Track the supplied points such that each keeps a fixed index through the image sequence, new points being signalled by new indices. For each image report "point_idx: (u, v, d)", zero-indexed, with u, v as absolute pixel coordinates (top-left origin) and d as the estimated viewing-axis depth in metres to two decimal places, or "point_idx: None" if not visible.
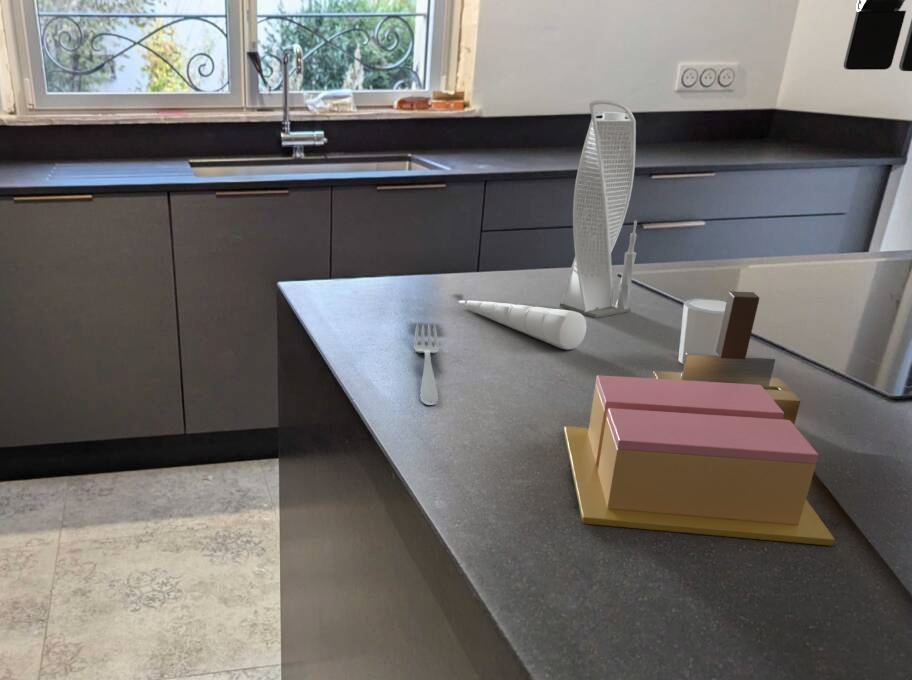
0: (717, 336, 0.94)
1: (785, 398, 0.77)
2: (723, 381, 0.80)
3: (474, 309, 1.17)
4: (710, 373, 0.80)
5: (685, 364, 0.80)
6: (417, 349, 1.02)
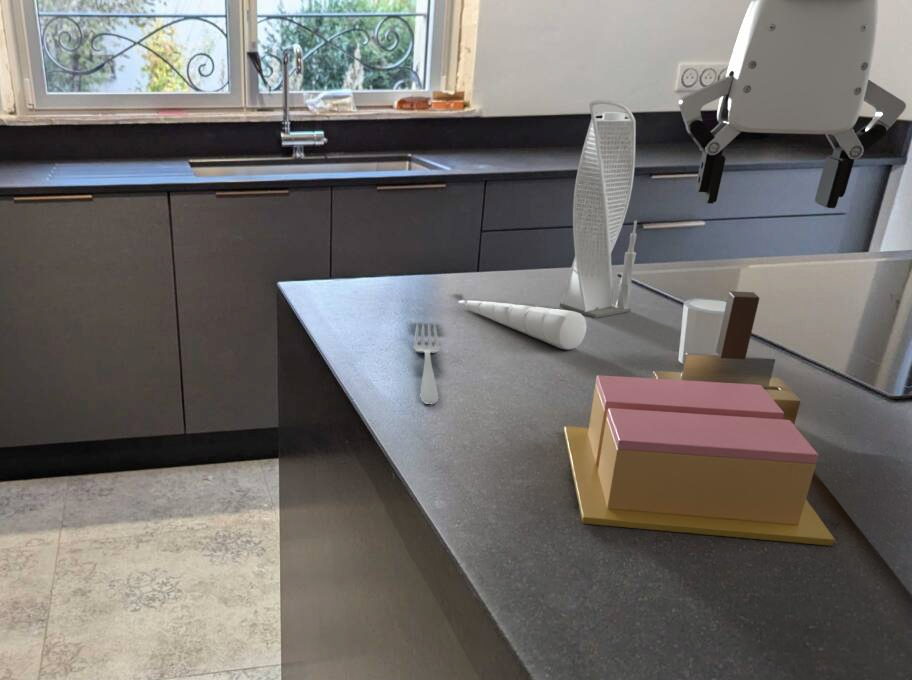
0: (717, 336, 0.94)
1: (785, 398, 0.77)
2: (723, 381, 0.80)
3: (474, 309, 1.17)
4: (710, 373, 0.80)
5: (685, 364, 0.80)
6: (417, 349, 1.02)
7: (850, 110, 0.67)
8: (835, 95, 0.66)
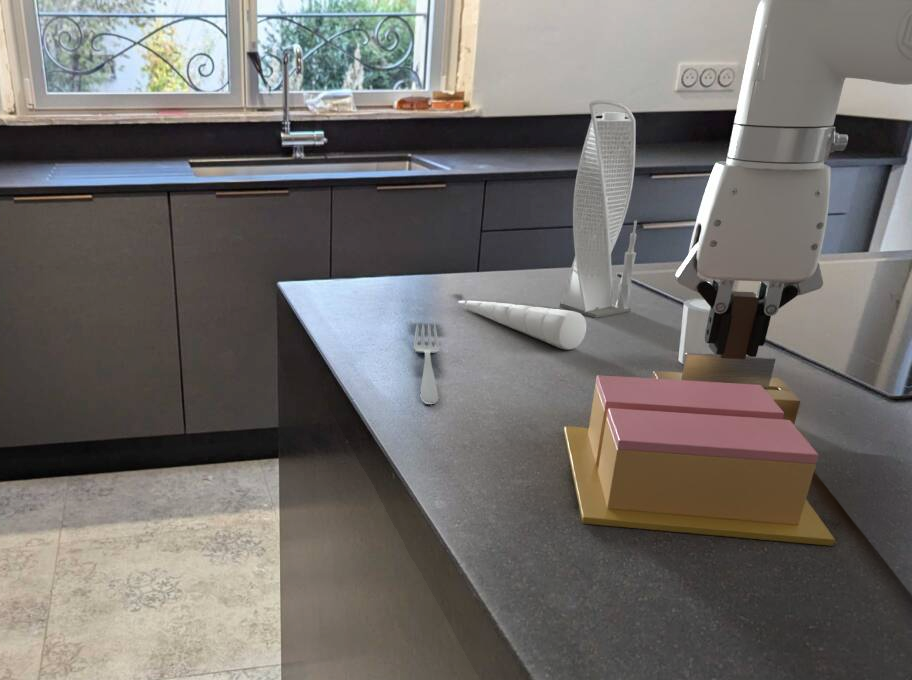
0: None
1: (785, 398, 0.77)
2: (723, 381, 0.80)
3: (474, 309, 1.17)
4: (710, 373, 0.80)
5: (685, 364, 0.80)
6: (417, 349, 1.02)
7: (808, 262, 0.72)
8: (794, 250, 0.72)
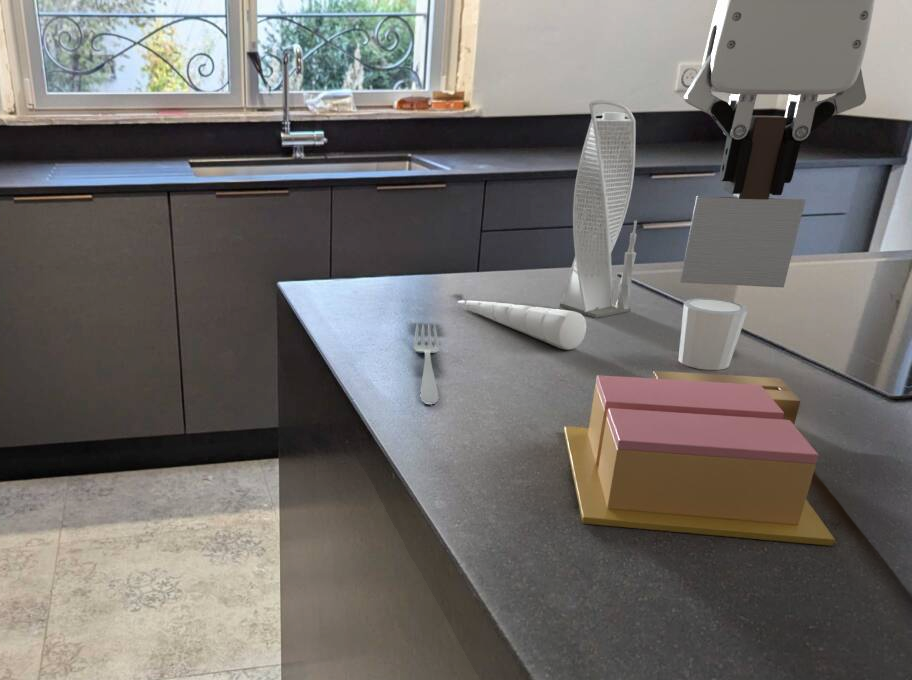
0: (717, 336, 0.94)
1: (785, 398, 0.77)
2: (741, 230, 0.67)
3: (474, 309, 1.17)
4: (726, 220, 0.66)
5: (695, 210, 0.67)
6: (417, 349, 1.02)
7: (849, 66, 0.59)
8: (831, 49, 0.58)
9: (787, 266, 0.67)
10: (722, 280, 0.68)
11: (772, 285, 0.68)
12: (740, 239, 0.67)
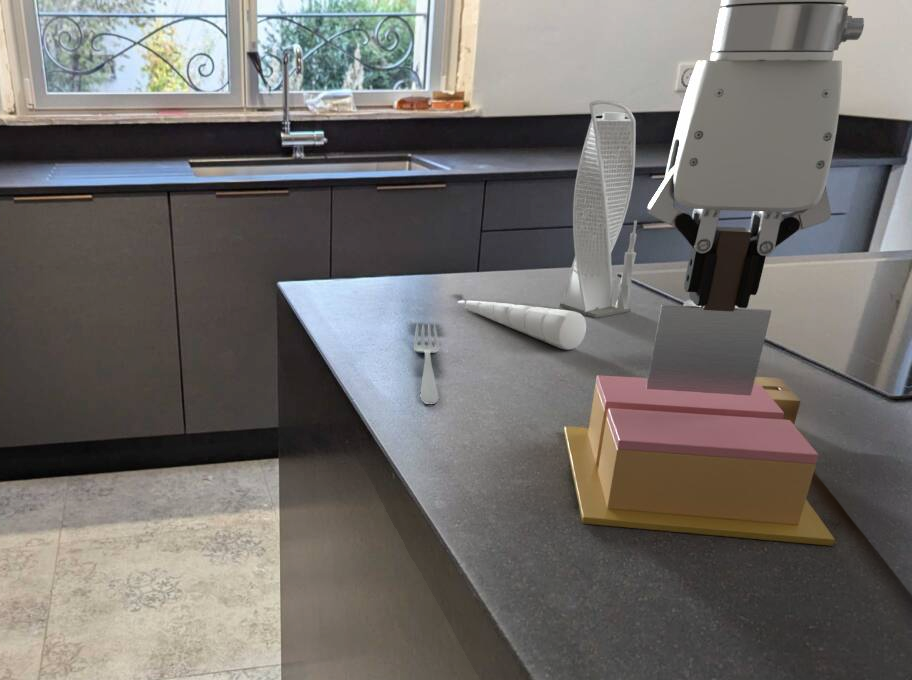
0: None
1: (785, 398, 0.77)
2: (707, 340, 0.65)
3: (474, 309, 1.17)
4: (691, 330, 0.65)
5: (660, 318, 0.65)
6: (417, 349, 1.02)
7: (813, 185, 0.58)
8: (795, 169, 0.57)
9: (754, 375, 0.66)
10: (689, 388, 0.67)
11: (739, 393, 0.66)
12: (706, 348, 0.65)
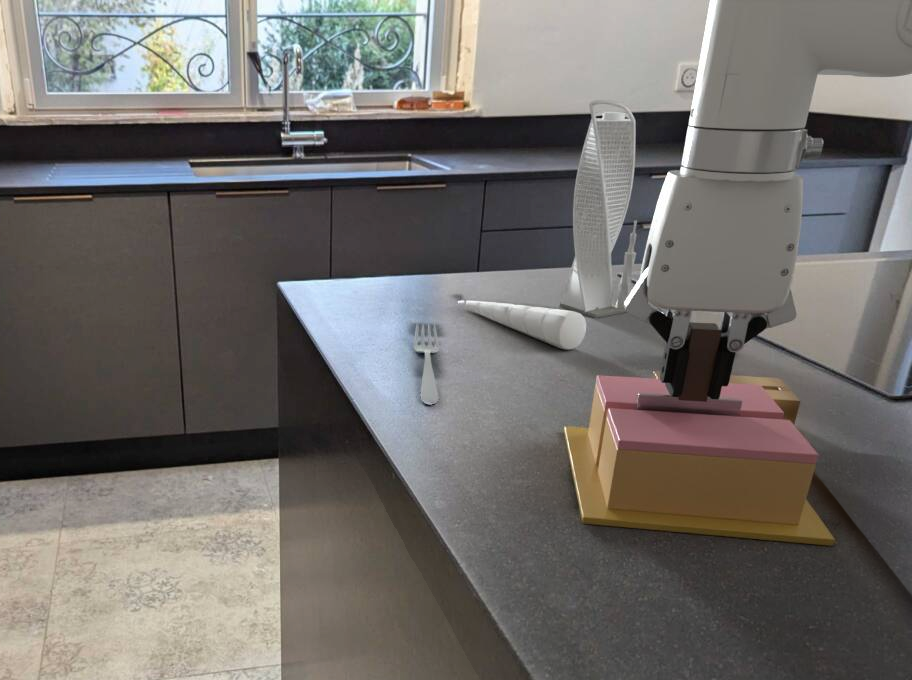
0: None
1: (785, 398, 0.77)
2: None
3: (473, 309, 1.17)
4: None
5: (638, 406, 0.68)
6: (417, 349, 1.02)
7: (778, 290, 0.61)
8: (760, 276, 0.60)
9: None
10: None
11: None
12: None
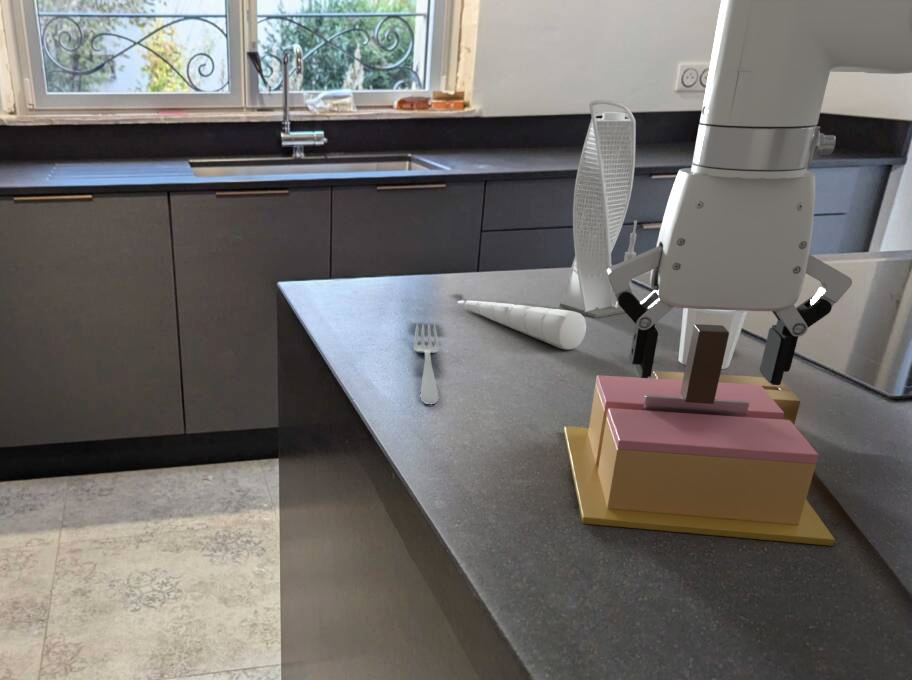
0: None
1: (785, 398, 0.77)
2: None
3: (473, 309, 1.17)
4: None
5: (644, 408, 0.68)
6: (417, 349, 1.02)
7: (790, 288, 0.61)
8: (772, 274, 0.60)
9: None
10: None
11: None
12: None
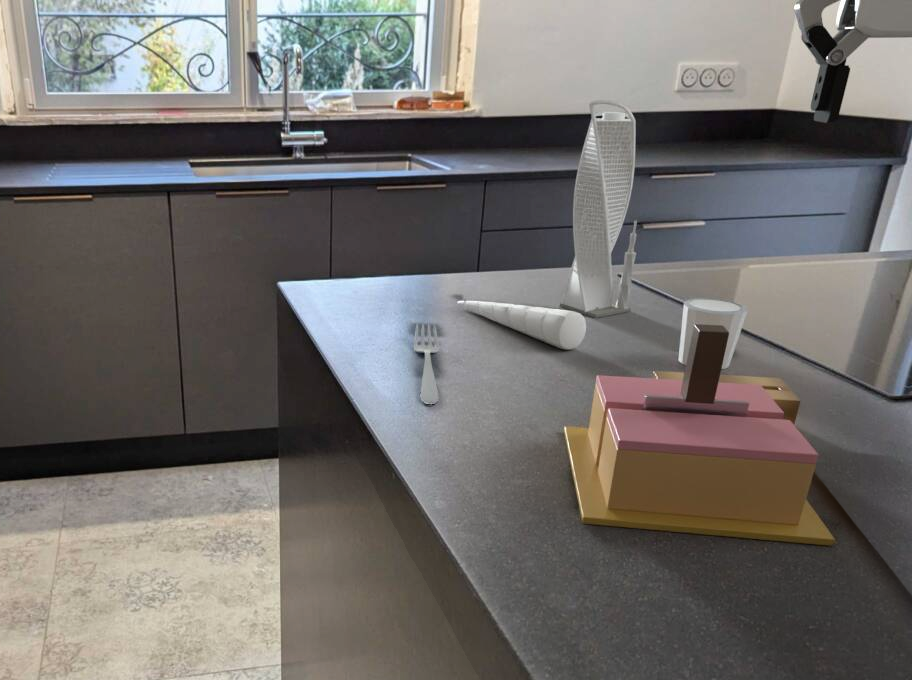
0: None
1: (785, 398, 0.77)
2: None
3: (473, 309, 1.17)
4: None
5: (644, 408, 0.68)
6: (417, 349, 1.02)
7: None
8: None
9: None
10: None
11: None
12: None
